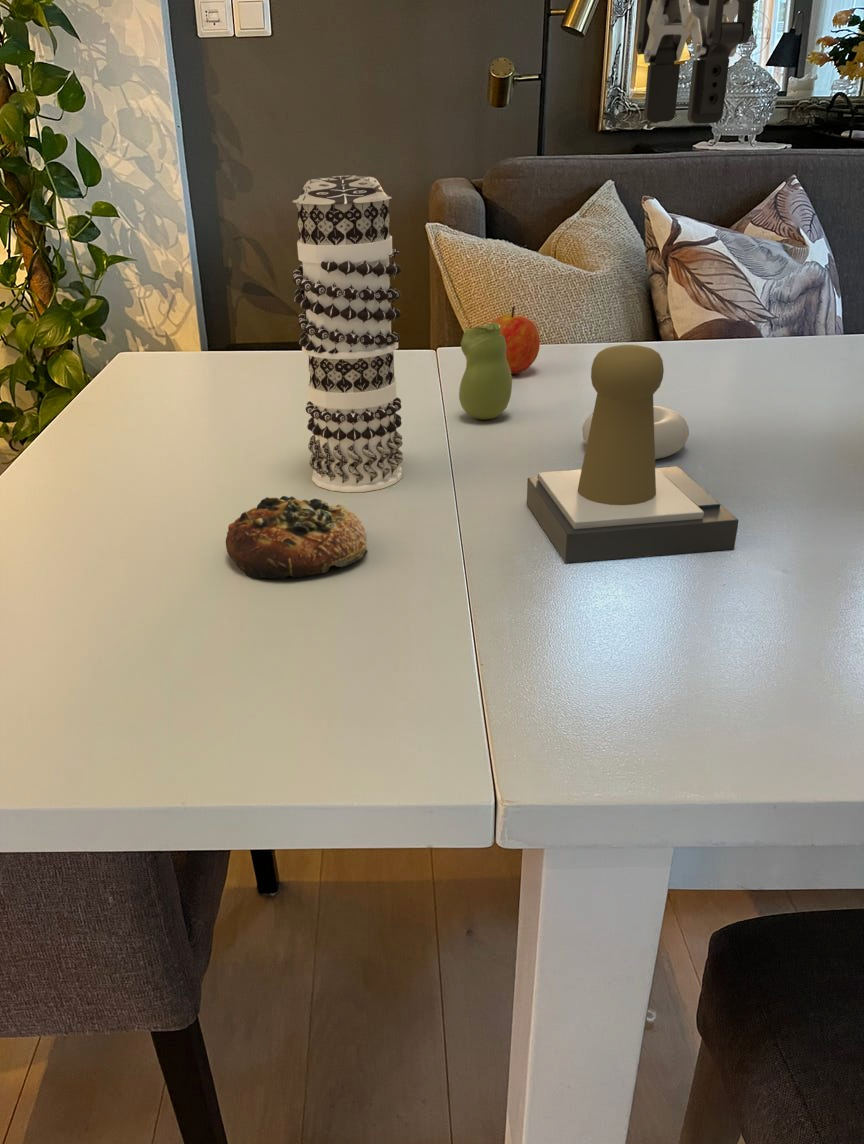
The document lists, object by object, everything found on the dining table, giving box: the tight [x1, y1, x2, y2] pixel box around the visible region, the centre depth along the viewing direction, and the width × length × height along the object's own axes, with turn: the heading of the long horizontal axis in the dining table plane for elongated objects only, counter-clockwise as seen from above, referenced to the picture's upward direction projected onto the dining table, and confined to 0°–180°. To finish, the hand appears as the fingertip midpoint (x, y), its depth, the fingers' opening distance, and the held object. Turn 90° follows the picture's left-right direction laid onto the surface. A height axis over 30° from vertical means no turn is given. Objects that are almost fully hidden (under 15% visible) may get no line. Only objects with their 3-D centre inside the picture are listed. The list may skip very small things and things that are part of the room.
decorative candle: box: [291, 175, 404, 493], centre depth 82 cm, size 9×9×25 cm
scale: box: [526, 466, 740, 564], centre depth 75 cm, size 13×12×3 cm
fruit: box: [490, 306, 541, 375], centre depth 117 cm, size 7×7×8 cm
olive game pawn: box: [578, 344, 665, 505], centre depth 72 cm, size 6×6×11 cm
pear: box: [458, 322, 513, 421], centre depth 100 cm, size 6×5×10 cm
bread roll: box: [225, 495, 369, 580], centre depth 73 cm, size 11×11×5 cm
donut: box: [581, 404, 690, 460], centre depth 91 cm, size 10×4×10 cm
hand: (680, 122), depth 69 cm, fingers open, 8 cm apart
